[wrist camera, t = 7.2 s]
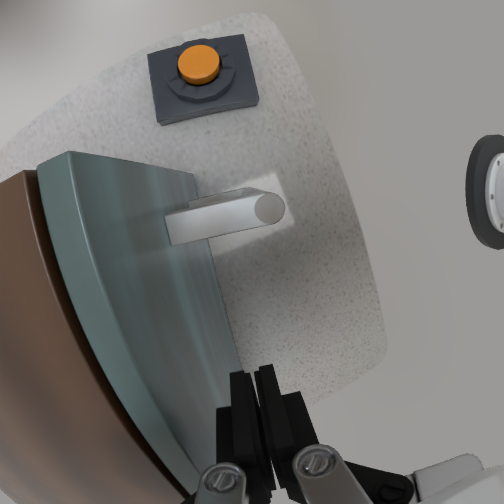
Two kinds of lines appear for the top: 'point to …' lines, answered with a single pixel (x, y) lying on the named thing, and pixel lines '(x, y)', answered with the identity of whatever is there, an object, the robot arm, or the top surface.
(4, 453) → the cupboard
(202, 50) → the button
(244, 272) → the top surface
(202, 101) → the switch block
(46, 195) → the cupboard door
